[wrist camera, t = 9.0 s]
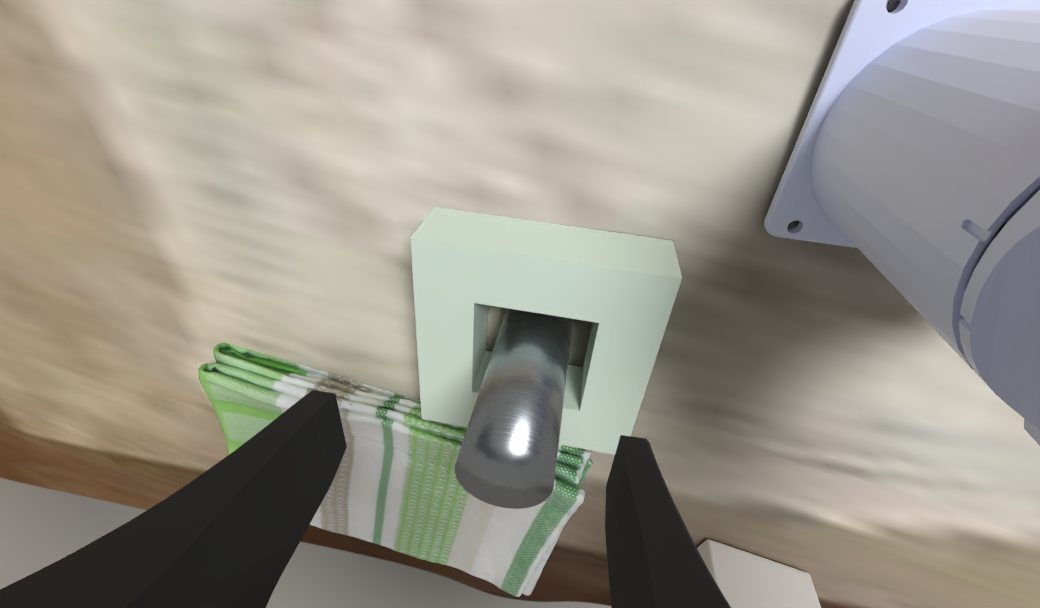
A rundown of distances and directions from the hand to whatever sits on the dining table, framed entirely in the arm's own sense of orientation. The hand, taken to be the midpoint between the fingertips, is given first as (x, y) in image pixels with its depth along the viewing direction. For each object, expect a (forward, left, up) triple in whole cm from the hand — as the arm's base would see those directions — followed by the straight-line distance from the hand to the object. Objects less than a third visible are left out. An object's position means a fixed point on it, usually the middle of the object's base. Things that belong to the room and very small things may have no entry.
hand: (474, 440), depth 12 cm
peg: (-1, +3, -10) cm, 11 cm away
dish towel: (+8, +19, -11) cm, 23 cm away
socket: (-1, +4, -10) cm, 11 cm away
